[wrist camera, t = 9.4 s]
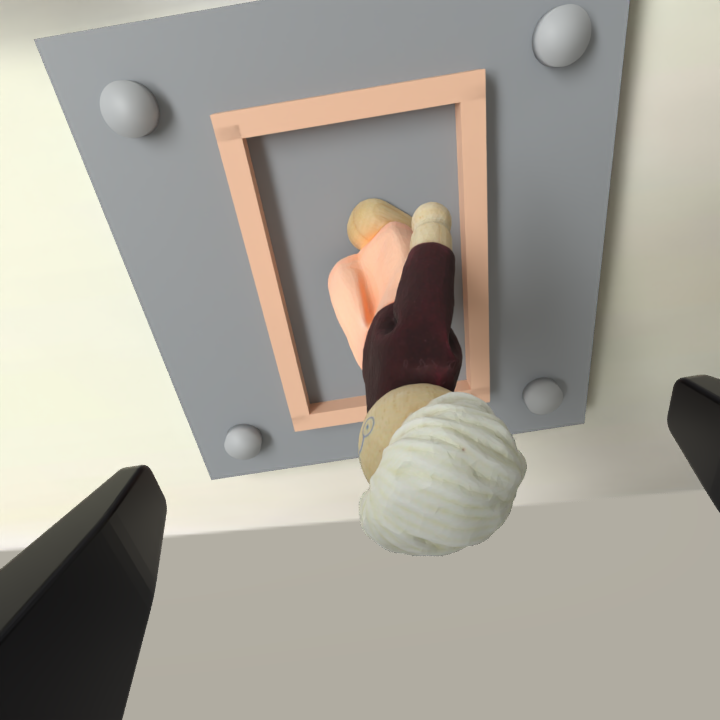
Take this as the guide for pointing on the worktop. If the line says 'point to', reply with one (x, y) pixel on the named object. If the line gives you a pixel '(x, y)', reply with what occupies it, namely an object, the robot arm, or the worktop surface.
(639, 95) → the worktop surface
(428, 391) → the grandmother figurine
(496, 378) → the base plate
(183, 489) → the worktop surface
